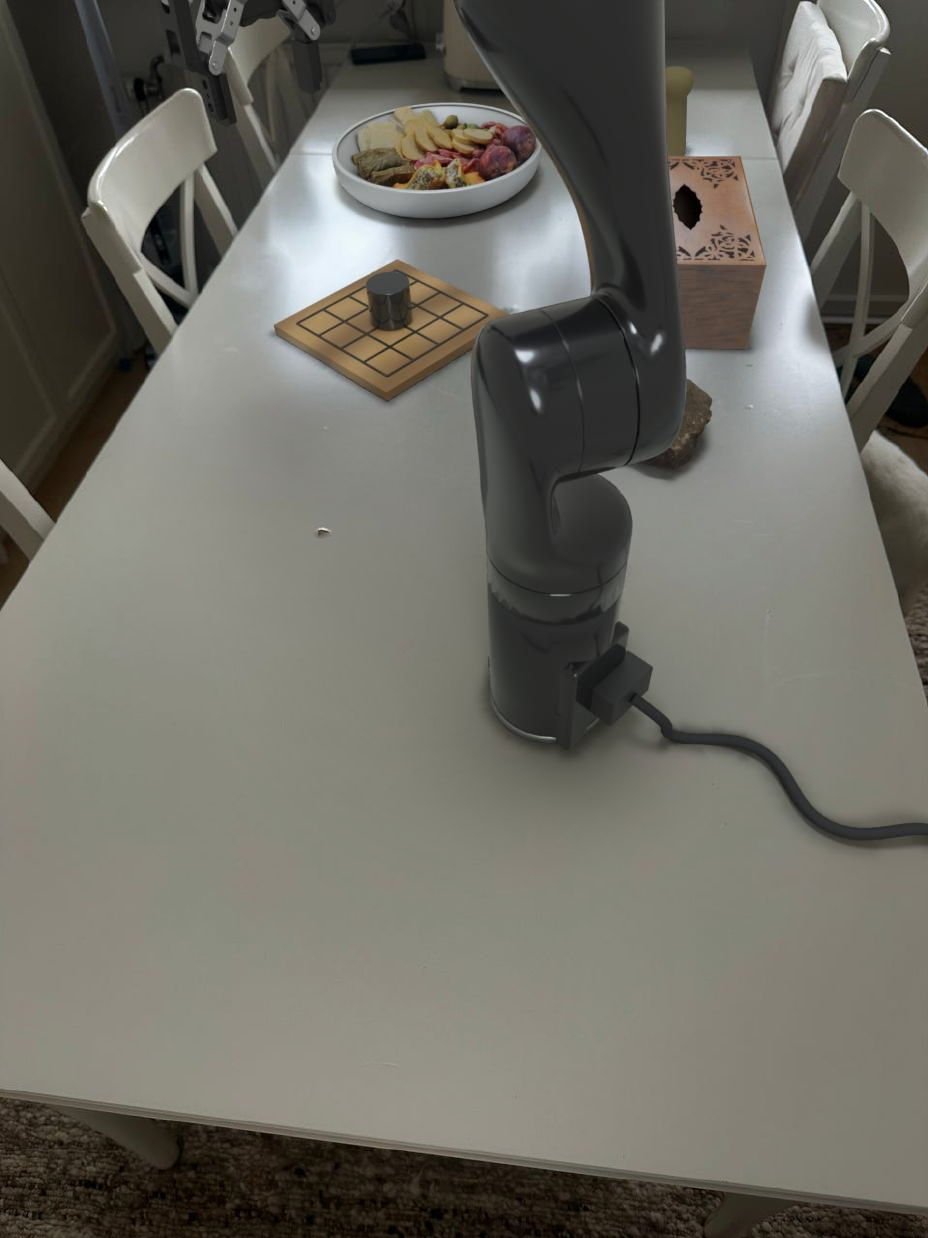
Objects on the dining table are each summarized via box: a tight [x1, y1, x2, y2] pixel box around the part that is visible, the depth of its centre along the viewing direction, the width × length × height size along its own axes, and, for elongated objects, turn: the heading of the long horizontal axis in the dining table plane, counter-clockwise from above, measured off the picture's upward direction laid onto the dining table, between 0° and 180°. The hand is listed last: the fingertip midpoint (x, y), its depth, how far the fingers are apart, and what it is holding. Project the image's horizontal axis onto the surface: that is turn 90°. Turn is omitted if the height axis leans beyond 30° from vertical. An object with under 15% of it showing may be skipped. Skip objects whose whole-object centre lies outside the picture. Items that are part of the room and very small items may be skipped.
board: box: [273, 258, 511, 402], centre depth 102 cm, size 20×20×1 cm
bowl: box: [331, 102, 542, 219], centre depth 124 cm, size 30×30×8 cm
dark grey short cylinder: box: [366, 272, 413, 330], centre depth 100 cm, size 5×5×4 cm
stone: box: [643, 378, 713, 470], centre depth 86 cm, size 10×14×6 cm
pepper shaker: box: [665, 65, 694, 156], centre depth 125 cm, size 6×6×11 cm
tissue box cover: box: [668, 155, 767, 350], centre depth 102 cm, size 26×14×10 cm, turn 174°
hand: (269, 106), depth 71 cm, fingers open, 8 cm apart
